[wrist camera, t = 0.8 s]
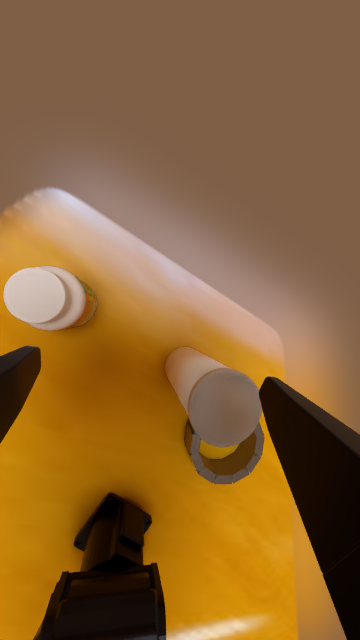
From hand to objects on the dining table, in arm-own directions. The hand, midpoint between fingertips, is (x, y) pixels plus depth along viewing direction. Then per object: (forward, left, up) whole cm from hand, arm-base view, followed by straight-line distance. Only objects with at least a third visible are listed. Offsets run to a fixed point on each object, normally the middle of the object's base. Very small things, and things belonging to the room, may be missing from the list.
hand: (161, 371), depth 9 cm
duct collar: (-4, -16, -18) cm, 24 cm away
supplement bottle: (-2, +8, -19) cm, 20 cm away
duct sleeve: (0, -7, -18) cm, 19 cm away
